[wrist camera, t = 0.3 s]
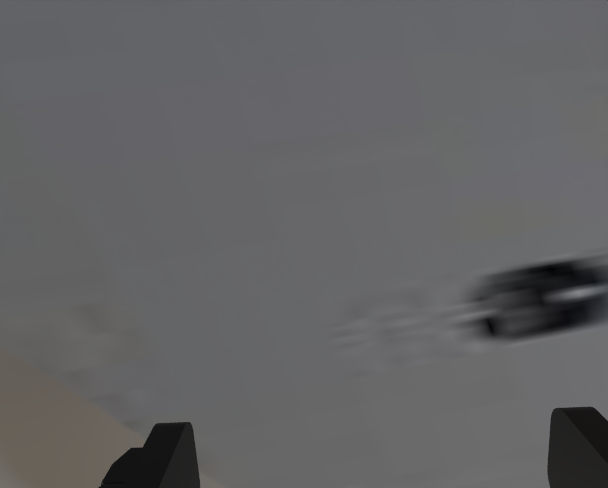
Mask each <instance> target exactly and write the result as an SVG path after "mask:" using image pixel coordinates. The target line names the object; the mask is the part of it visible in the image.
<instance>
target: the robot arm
mask: <svg viewBox="0 0 608 488" xmlns="http://www.w3.org/2000/svg"><path fill="white" fill-rule="evenodd" d="M548 480H549V484H550V488H608V421H607V420H606V419H605V418H604V417H603V416H602V415H601V414H600V413H599V412H598V411H597V410H596V409H595V408H593V407H573V408H556V409H554V410H553V412H552V415H551V424H550V439H549V453H548ZM99 488H200V479H199V471H198V463H197V456H196V448H195V441H194V433H193V428H192V425H191V423H190V422H178V423H157V424H156V425H155V426H154V427H153V429H152V431H151V433H150V435H149V437H148V438H147V440H146V442H145V444H144V446H143V448H131V449H130V450H128V451H127V452H126V453H125V454H124V455H122V456H121V457H120V458H119V459H118V460H117V461H116V462H114V463H113V464H112V466H111V467H110V469H109V471H108V473H107V474H106V476H105V478H104V479H103V481H102V483H101V487H99Z"/></svg>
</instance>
